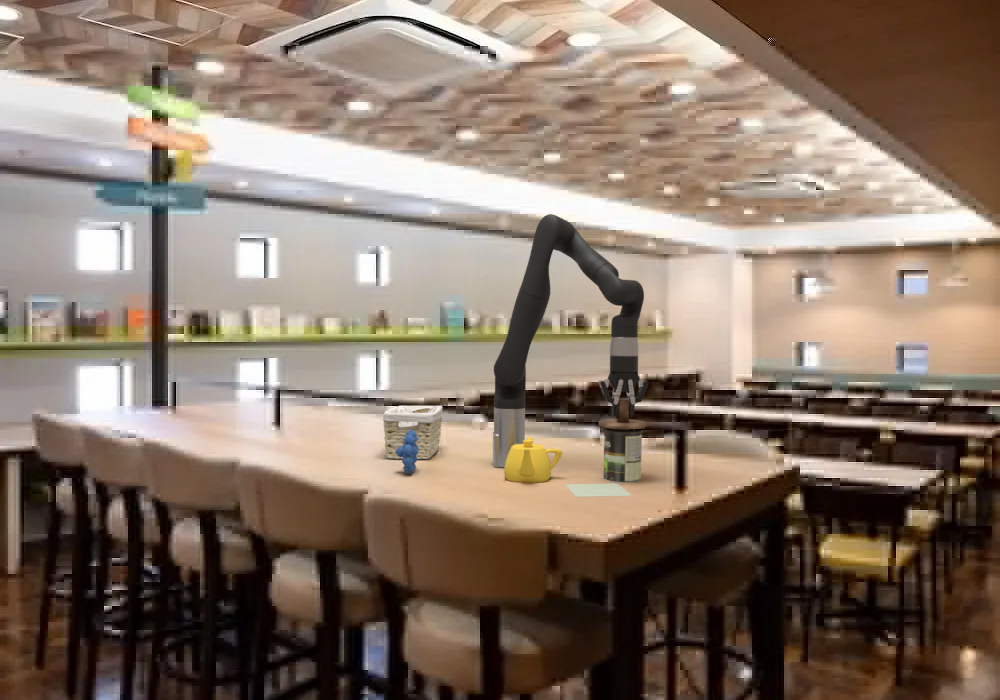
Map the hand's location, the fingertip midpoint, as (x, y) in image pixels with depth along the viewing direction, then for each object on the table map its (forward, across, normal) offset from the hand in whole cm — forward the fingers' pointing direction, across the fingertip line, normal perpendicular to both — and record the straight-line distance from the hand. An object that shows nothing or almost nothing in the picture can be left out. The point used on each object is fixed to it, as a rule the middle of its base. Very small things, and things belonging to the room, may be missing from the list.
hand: (623, 417), depth 205 cm
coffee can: (+17, 0, 0) cm, 17 cm away
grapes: (+17, -58, +15) cm, 62 cm away
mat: (+17, -10, -13) cm, 24 cm away
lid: (+2, 0, 0) cm, 2 cm away
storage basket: (+18, -56, +45) cm, 74 cm away
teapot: (+17, -24, +3) cm, 30 cm away
